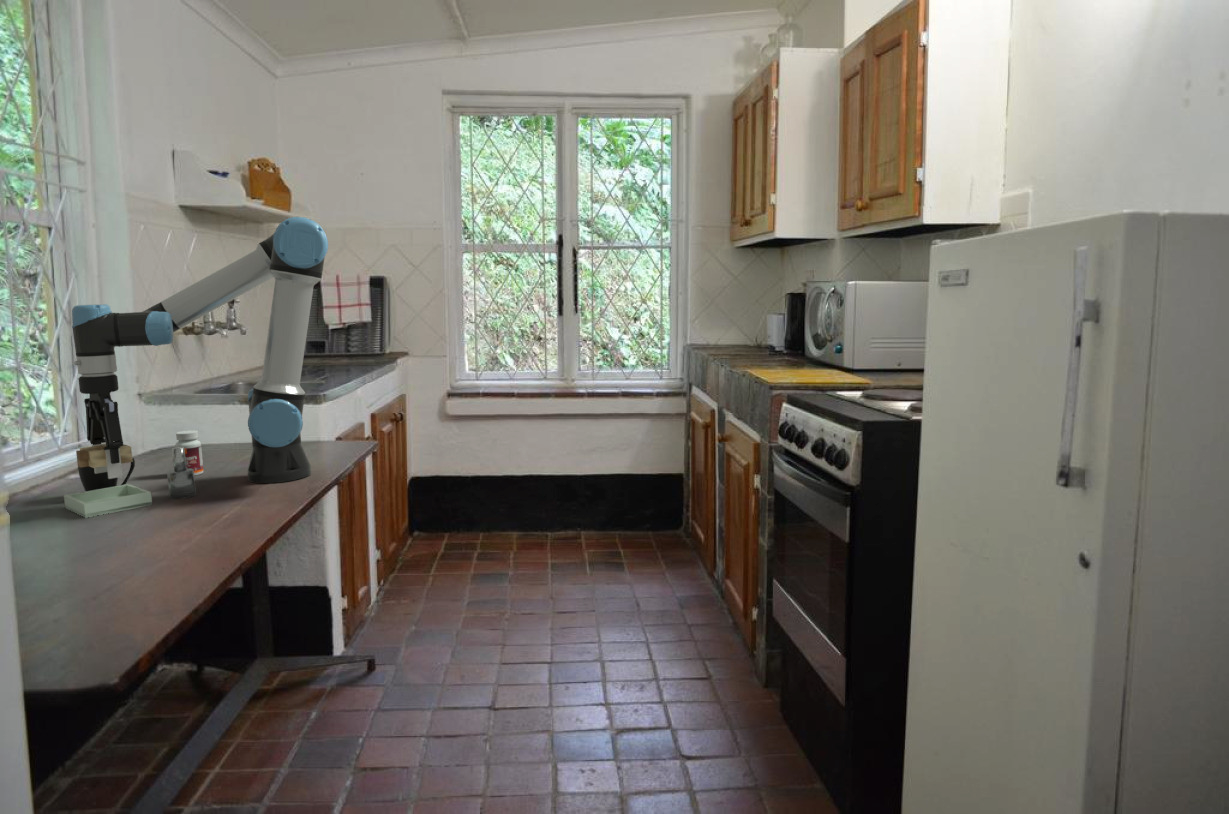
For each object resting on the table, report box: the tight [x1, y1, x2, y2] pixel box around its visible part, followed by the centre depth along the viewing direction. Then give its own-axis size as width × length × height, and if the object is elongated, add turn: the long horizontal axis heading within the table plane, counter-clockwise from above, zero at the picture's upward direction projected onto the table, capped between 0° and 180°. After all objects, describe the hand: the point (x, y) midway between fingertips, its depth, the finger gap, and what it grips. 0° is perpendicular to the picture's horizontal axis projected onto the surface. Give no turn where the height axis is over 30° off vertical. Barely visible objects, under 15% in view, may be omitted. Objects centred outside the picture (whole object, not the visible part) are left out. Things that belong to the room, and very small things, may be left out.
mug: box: [77, 457, 136, 492], centre depth 210 cm, size 8×12×10 cm
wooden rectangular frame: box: [75, 443, 133, 468], centre depth 198 cm, size 10×8×4 cm
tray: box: [63, 483, 153, 519], centre depth 199 cm, size 14×14×3 cm
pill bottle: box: [174, 429, 204, 477], centre depth 231 cm, size 6×6×11 cm
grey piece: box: [166, 447, 197, 500], centre depth 207 cm, size 6×6×12 cm
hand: (108, 474), depth 199 cm, fingers closed on wooden rectangular frame, 8 cm apart
